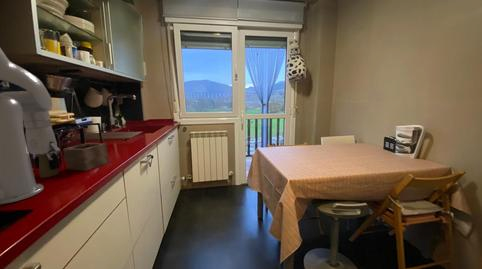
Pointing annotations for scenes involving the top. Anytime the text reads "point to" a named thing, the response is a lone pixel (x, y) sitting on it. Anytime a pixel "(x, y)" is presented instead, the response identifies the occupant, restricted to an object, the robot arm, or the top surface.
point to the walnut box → (86, 156)
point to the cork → (45, 166)
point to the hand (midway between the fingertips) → (48, 167)
